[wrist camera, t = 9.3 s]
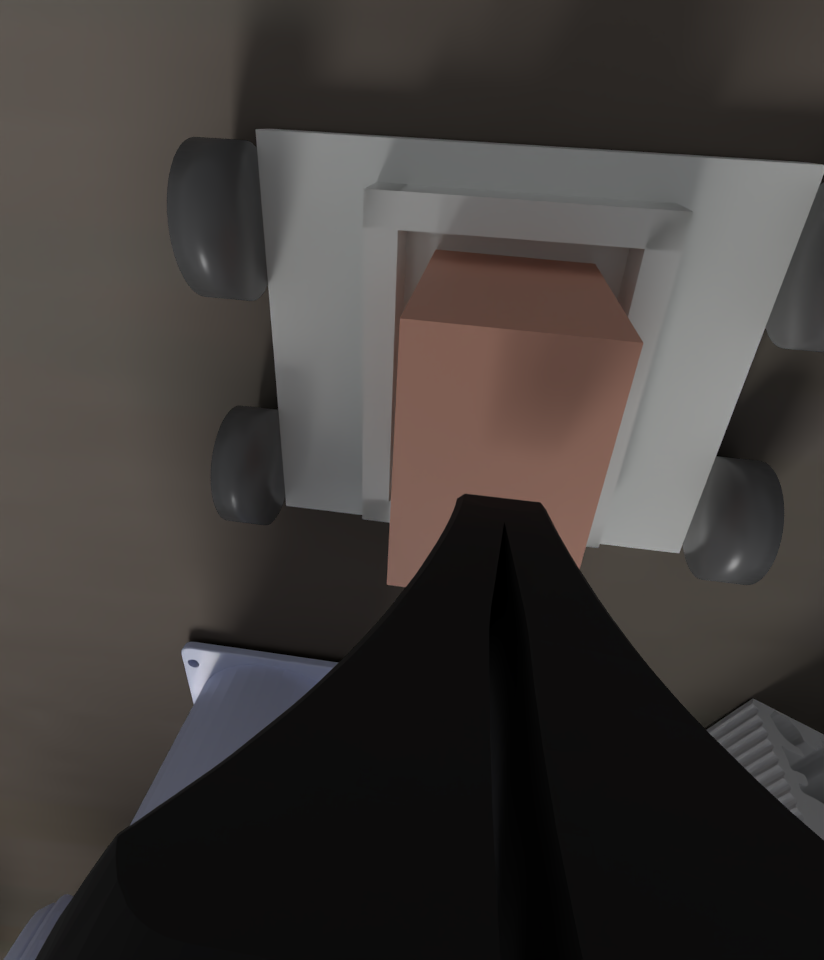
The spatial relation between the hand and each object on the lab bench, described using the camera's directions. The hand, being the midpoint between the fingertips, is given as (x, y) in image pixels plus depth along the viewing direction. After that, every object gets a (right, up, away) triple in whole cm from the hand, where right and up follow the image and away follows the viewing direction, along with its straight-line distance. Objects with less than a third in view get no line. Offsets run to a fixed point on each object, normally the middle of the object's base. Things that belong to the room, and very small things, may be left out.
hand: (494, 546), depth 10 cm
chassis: (+1, +5, +7) cm, 9 cm away
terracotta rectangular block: (+1, +4, +7) cm, 8 cm away
